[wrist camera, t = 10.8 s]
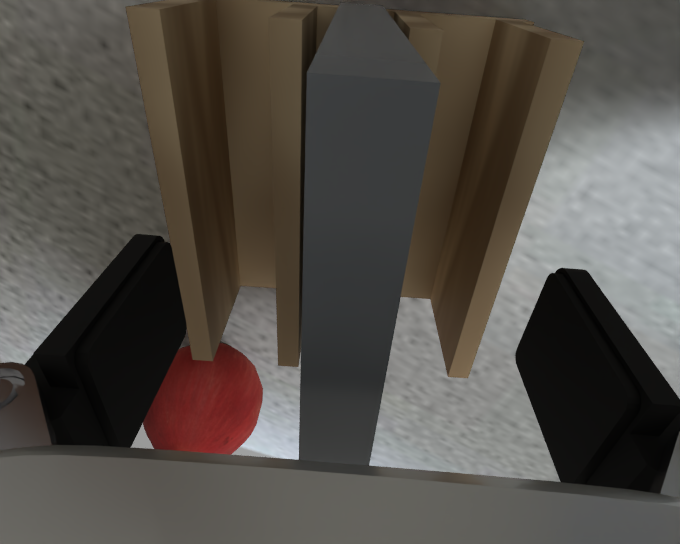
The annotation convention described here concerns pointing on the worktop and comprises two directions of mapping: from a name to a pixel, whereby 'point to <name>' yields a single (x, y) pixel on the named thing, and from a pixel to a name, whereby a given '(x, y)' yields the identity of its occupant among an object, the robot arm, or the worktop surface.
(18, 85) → the worktop surface
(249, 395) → the onion
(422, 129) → the plate
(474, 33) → the rack
